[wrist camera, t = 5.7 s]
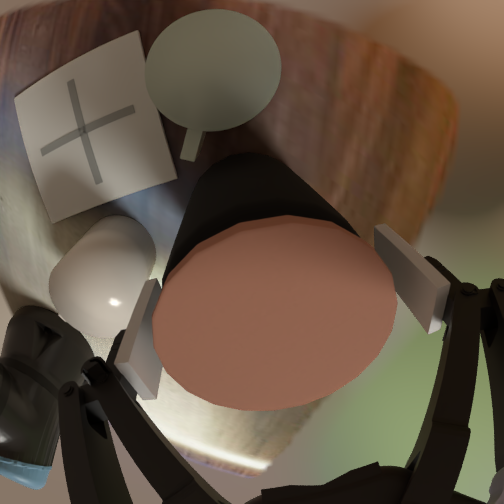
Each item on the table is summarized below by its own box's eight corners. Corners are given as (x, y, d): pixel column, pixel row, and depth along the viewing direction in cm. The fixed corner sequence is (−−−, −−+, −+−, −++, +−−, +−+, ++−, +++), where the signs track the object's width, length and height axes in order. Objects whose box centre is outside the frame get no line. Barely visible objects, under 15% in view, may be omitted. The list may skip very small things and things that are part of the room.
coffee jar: (195, 258, 29) (174, 414, 13) (188, 152, 25) (124, 227, 9) (298, 254, 30) (363, 397, 14) (305, 152, 25) (426, 222, 10)
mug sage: (186, 35, 19) (169, 0, 11) (273, 56, 21) (297, 30, 13) (155, 138, 24) (122, 151, 16) (240, 158, 25) (247, 180, 17)
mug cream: (121, 199, 26) (83, 237, 18) (171, 259, 29) (155, 314, 21) (64, 253, 28) (25, 299, 20) (109, 302, 31) (85, 357, 23)
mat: (54, 221, 26) (51, 224, 25) (17, 98, 19) (13, 98, 18) (178, 177, 25) (177, 178, 25) (139, 31, 19) (137, 29, 18)
